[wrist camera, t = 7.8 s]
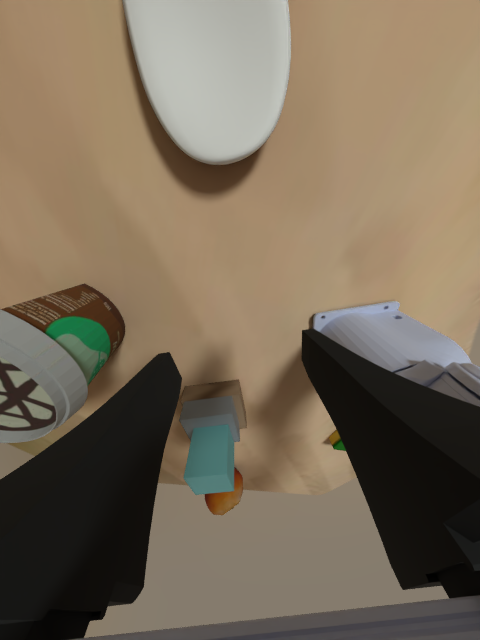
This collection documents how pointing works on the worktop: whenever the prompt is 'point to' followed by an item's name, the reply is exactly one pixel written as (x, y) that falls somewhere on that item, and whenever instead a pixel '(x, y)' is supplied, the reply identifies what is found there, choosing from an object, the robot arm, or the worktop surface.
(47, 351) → the food container
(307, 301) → the worktop surface
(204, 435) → the teal block
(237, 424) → the gray block
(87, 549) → the robot arm
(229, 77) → the spoon
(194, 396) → the walnut slab
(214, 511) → the fruit
